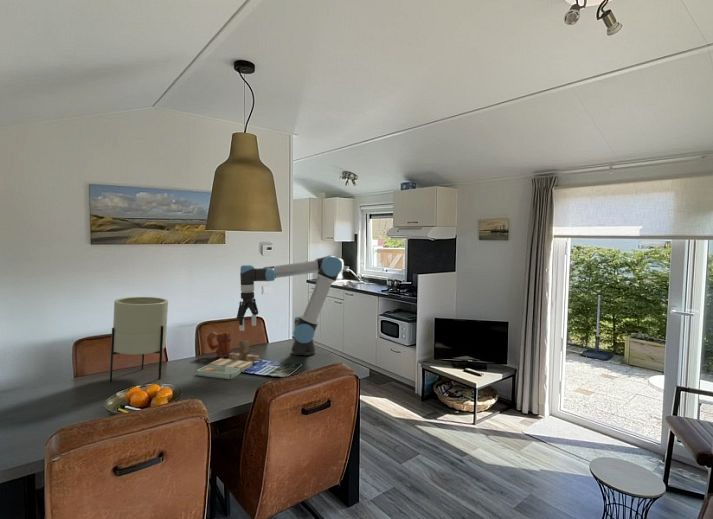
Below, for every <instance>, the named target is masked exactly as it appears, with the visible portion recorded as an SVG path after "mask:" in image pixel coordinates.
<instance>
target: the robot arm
mask: <svg viewBox="0 0 713 519" xmlns="http://www.w3.org/2000/svg"><path fill="white" fill-rule="evenodd" d="M254 266H255V265H252V264H245V265H244V264H243V265H241V266H240V272H239V276H240V278H239V279H240V292H241V293H240V298H241V300H242V301H239V303H238V304H239V307H238V309H237V314H236V319H237V320H239V321H238V322H239V323H238V324H239V325H238V326H239V329H238V330H239V331H240V332H241V331H242V332H244V331H245V318H244V317H245V315H246V313H247V310H248V309H249V310H250V313H251V326H252V327H256V326H257V316H258V315H259V309H258V307H257V303H256V298H255V292H254V291H255V282H274V281H275V279H278V278H287V277H293V276H301V275H302V276H303V275H307V274H314V273H315V274H317V276H318V277H317V280H316V283H315V285H314V288H313V290H312V293H311V295H310V297H309V299H308V302H307V305H306V307H305V310H304V312H303V314H302V315H300V316H295V317H294V322H293V323H294V330H293V337H294V338H293V339H294V340H293V344H292V347H291V350H290V353H292V354H295V355H294V356H296V355H310V356H312V355H311V354H314V353H315V352H316V350H317V349H316V346H315V343H314V337H315V332H316V329H317V327H318V325H319V322H318V318H319V315H320V313H321V311H322V308H323V307H324V303H325V302H326V299H327V296H328V294H329V291H330V289H331V287H332V284H333V283H335V282H336V281H337V279H338V276H339V274H340V273H341V271H342V269H343V264H342V260H341V259H340V258H339V257H337V256H335V255H327V256H324V257H323V256H322V257H319V258H315V259H314V260H309V261H302V262H301V261H300V262H293V263H288V264H279V265H272V266H264V267H262V268H255V267H254ZM292 354H291V355H292ZM315 354H316V353H315ZM315 354H314V355H315Z"/></svg>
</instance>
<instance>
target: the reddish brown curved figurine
mask: <svg viewBox="0 0 713 519" xmlns="http://www.w3.org/2000/svg"><path fill="white" fill-rule="evenodd" d="M215 338H216V342H217V344H215V343H214V341H213V339H215ZM231 341H232V339H231V335H230V332H220V333H217V332H216V331H215V330H214V331H210V333H208V335H207V337H206V342H207V346H208V348H209V349H210V350H211V351H216V357H218V358H219V357H220V358H219V359H225V358H224V357H226V358H229V354H230V353H232V350H231Z"/></svg>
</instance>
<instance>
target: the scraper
mask: <svg viewBox="0 0 713 519" xmlns="http://www.w3.org/2000/svg"><path fill="white" fill-rule="evenodd" d="M238 342H239V343H238V344H239V346H238V352H237V353H236V352H231V353H230V354H229V356H228V359H230V360H239V361H249V362H254V361H258V360H259V361H260V355H259V354H250V340H249V339H248V340H247V339H242V340H239V341H238Z"/></svg>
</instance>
